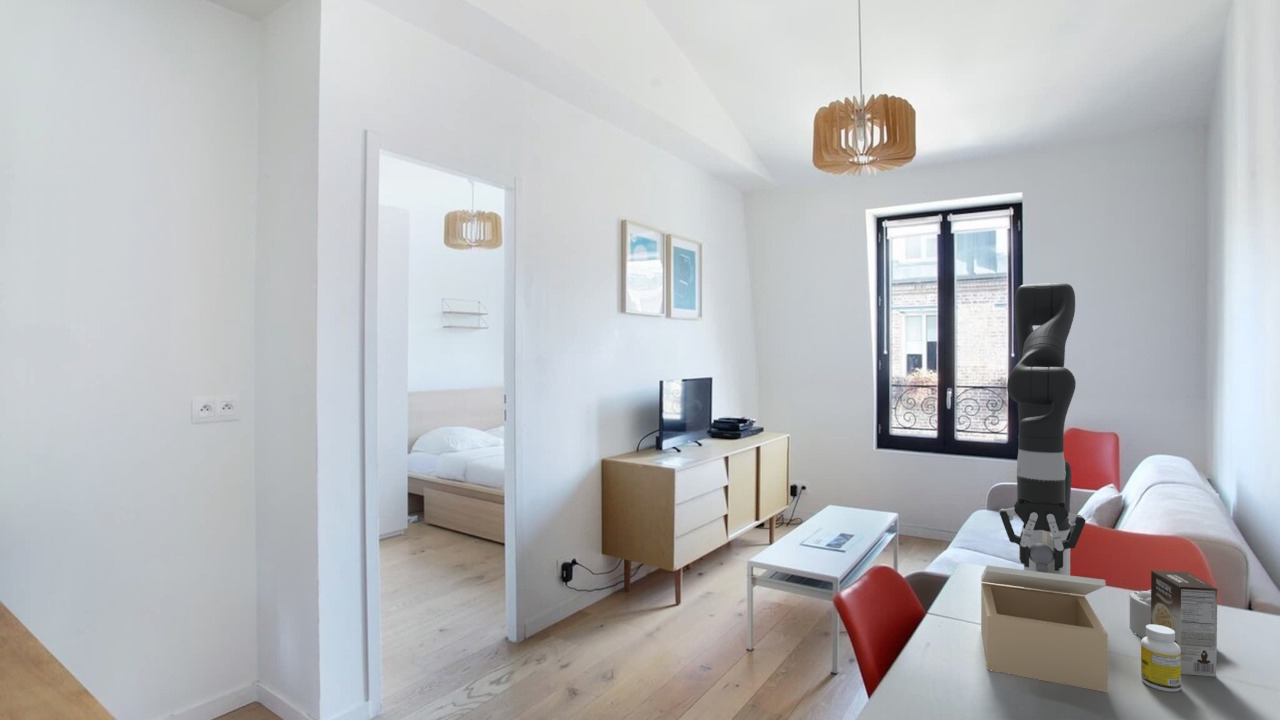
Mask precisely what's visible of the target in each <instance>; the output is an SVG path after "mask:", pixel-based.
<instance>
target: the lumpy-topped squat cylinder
mask: <svg viewBox="0 0 1280 720" xmlns="http://www.w3.org/2000/svg"><path fill="white" fill-rule="evenodd" d="M1149 624H1151V589H1148V590H1137V591H1132V592H1130V593H1129V630H1130V629H1131V630H1132V631H1133V632H1134V633H1133V632H1132V631H1131V630H1130V631H1131V632H1132V633H1133V634H1135V633H1136V634H1137V635H1138V636H1137V635H1136V634H1135V635H1136V636H1137V637H1139V636H1140V637H1139V638H1141V637H1142V638H1141V639H1143V638H1144V637H1147V635H1146V625H1149Z"/></svg>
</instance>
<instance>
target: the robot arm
mask: <svg viewBox="0 0 1280 720" xmlns="http://www.w3.org/2000/svg"><path fill="white" fill-rule="evenodd" d="M1014 312H1015V315H1014V316H1015V324H1016V325H1015V327H1016V337H1017V338H1016V340H1017V353H1018V354H1017V356H1018V357H1017V358H1018V359H1017V363H1016V365H1015V366H1014V368H1013V369H1012V371H1010V373H1009V377H1008V379H1007V384H1006V388H1007V394H1008V396H1009V397H1010V398H1011V400H1012V401H1014V402H1016V403H1017V415H1018V443H1017V444H1018V447H1017V459H1016V461H1017V462H1016V502H1015V504H1014V506H1013V507H1008V508H999V509H998V513H999V516H1000V518H1001V522H1002V524H1003V526H1004V529H1005V532H1006V535H1007V538H1008V540H1009V541H1010V543H1013V544H1014V543H1015V544H1016V545H1018V546H1019V548H1018V549H1019V550H1018V551H1019V561H1020V563H1021V564H1023V570H1028V571H1036V564H1035V563H1034V562H1033V561H1032V560H1031V559H1030V557H1029V548H1030V547H1031V546H1032V545H1033V544H1036V543H1043V544H1046V545H1047V546H1049V547H1050V548H1051V549H1052V551H1053V553H1054V559H1053V561H1052V562H1051V563H1050V564H1048V565H1047V567H1048V573H1053V574H1061V575H1069V576H1071V549H1073V550H1074V549H1075V548H1076V546H1077V543H1078V541H1079V539H1080V536H1081V534H1082V531H1083V529H1084V527H1085V524H1086V523H1087V522H1086V519H1085V518H1084V516H1082V515H1081V514H1074V513H1071V508H1070V507H1071V491H1072V478H1073V477H1072V467H1071V465H1070V463H1069V461H1068V460H1066V459H1065V456H1064V455H1065V453H1064V448H1065V447H1064V432H1065V422H1066V418H1067V413H1068V411H1069V407H1070V405H1071V402H1072V399H1073V398H1074V397H1073V396H1074V394H1075V390H1076V386H1077V385H1076V384H1077V382H1076V378H1075V375H1074V374H1073V372H1072V371H1071V370H1069V368H1066V367H1065V360H1066V359H1065V358H1066V343H1067V340H1068V338H1069V334H1070V331H1071V328H1072V325H1073V322H1074V318H1075V313H1076V294H1075V291H1074V288H1073V286H1072V285H1071V284H1069V283H1065V282H1053V283H1052V282H1050V283H1049V282H1048V283H1047V282H1046V283H1044V282H1043V283H1031V284H1030V283H1029V284H1028V283H1027V284H1021V285H1019V286H1018V288H1017V289H1016V292H1015V298H1014ZM1034 326H1035V327H1037V326H1039V327H1037V328H1035V329H1034V328H1033V327H1034ZM1015 514H1016V515H1017V516H1018V518H1019V519H1020V520H1021V521H1022V524H1023V525H1022V526H1021V527H1022V528H1021V531H1020V534H1019V535H1017V534H1015V531H1014V528H1013V525H1012V523H1011V521H1013V520H1014V515H1015ZM1029 589H1032V588H1029ZM1037 590H1039V589H1037ZM1044 591H1047V590H1044ZM1052 592H1055V591H1052ZM1059 593H1062V592H1059ZM1067 594H1070V593H1067Z"/></svg>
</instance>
